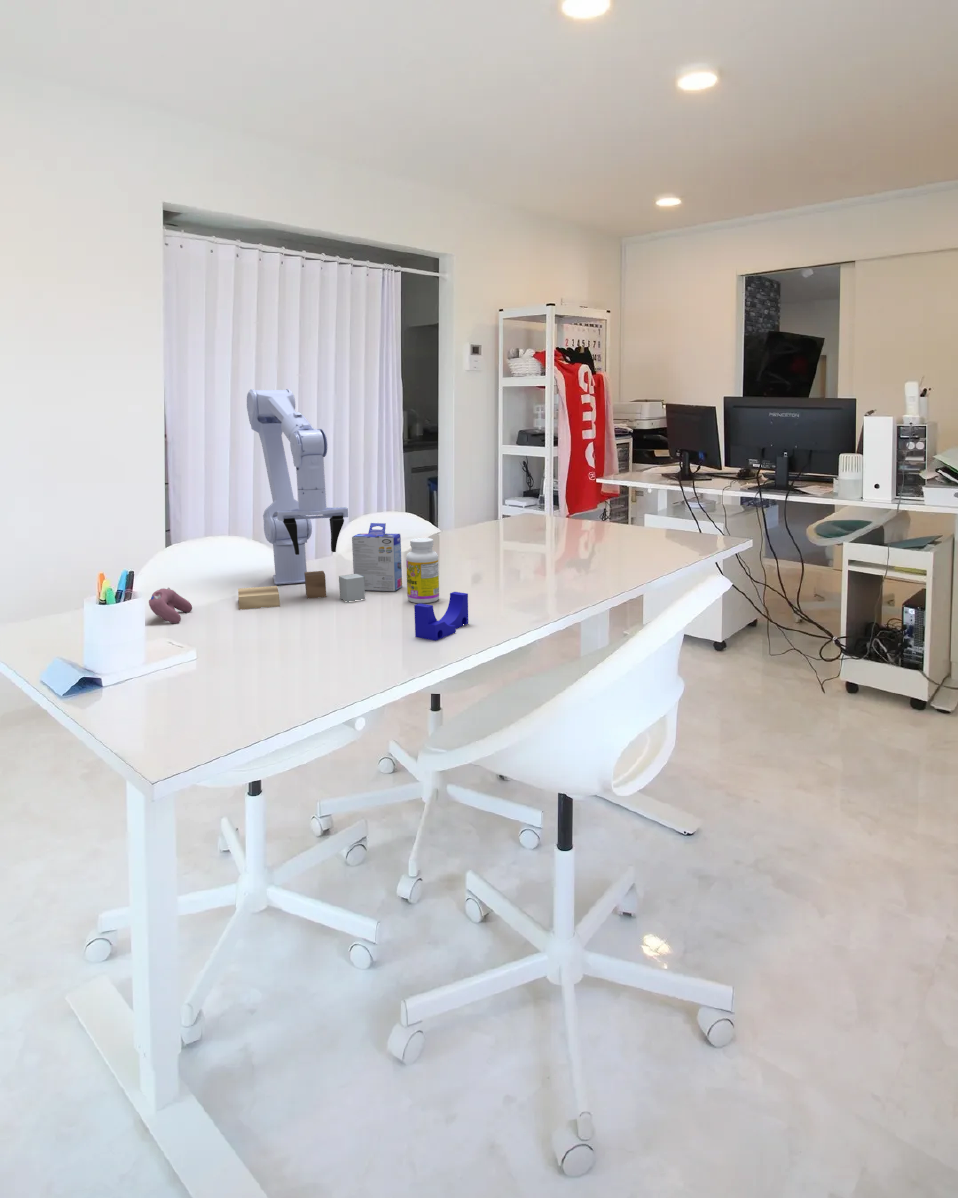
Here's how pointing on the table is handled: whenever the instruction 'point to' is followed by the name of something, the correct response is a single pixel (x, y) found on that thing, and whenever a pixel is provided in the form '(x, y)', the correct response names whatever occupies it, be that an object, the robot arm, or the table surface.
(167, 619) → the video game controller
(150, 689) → the table surface
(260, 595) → the oak slab
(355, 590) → the grey block
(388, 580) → the ink cartridge box
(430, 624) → the blue cradle holder
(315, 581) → the walnut block
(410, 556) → the supplement bottle
